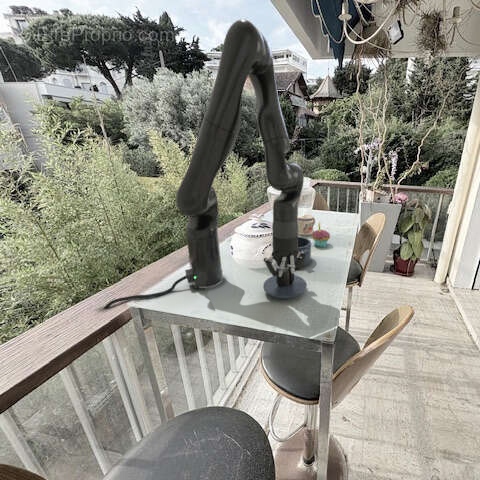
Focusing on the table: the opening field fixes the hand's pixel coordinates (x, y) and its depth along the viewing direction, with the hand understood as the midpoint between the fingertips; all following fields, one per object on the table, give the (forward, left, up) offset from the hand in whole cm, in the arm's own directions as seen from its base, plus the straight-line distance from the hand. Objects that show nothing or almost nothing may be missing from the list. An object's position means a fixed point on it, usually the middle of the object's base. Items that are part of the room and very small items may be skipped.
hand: (285, 284), depth 84 cm
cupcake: (+33, +29, -4) cm, 44 cm away
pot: (+14, +19, -3) cm, 24 cm away
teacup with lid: (+36, +47, -4) cm, 59 cm away
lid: (0, 0, -1) cm, 1 cm away
